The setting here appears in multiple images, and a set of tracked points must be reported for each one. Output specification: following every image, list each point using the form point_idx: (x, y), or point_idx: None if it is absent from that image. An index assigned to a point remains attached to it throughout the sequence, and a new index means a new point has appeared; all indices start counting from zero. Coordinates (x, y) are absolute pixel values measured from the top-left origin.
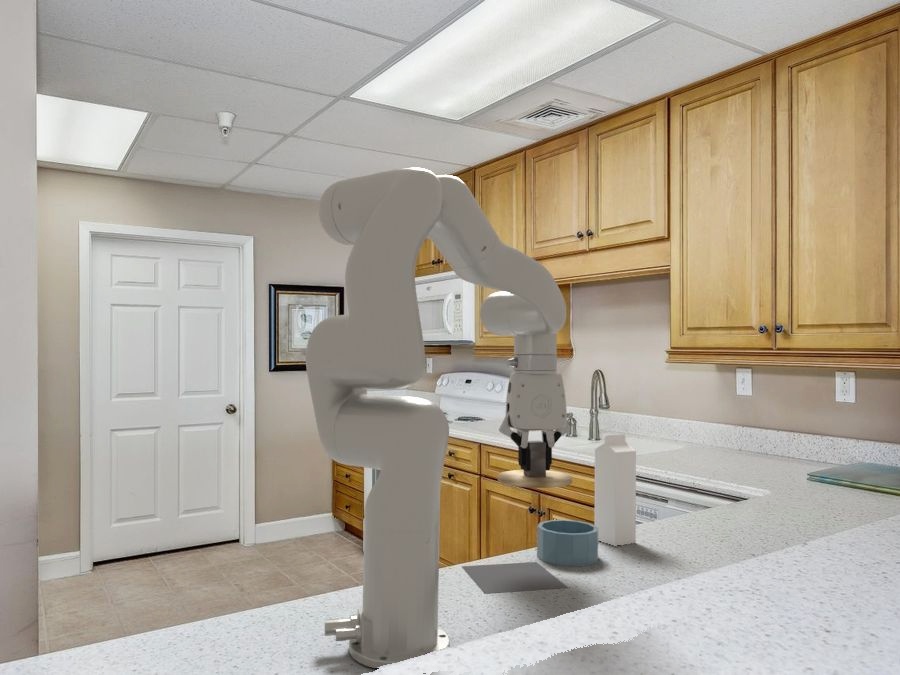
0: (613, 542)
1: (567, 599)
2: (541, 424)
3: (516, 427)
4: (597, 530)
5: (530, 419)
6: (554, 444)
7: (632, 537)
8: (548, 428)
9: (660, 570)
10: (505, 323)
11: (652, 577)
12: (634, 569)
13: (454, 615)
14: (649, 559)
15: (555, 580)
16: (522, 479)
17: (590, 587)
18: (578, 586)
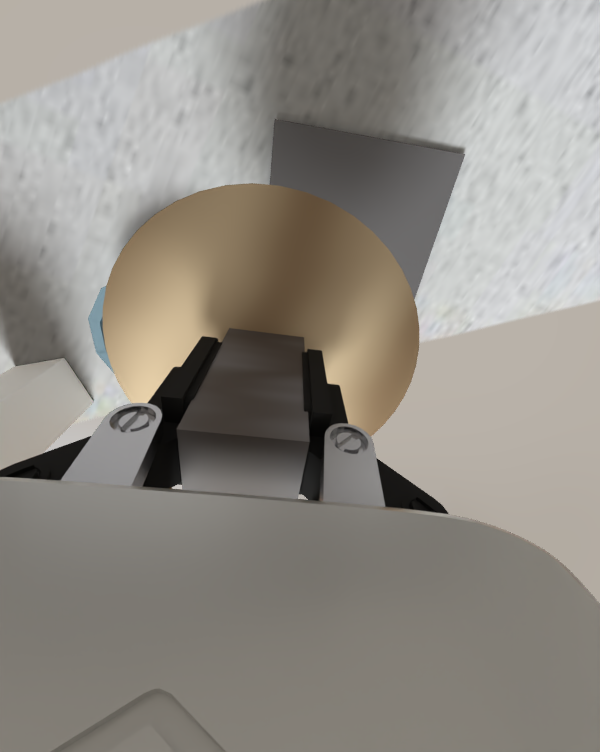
0: (62, 364)
1: (306, 56)
2: (194, 551)
3: (541, 550)
4: (98, 295)
5: (402, 677)
6: (109, 413)
7: (13, 370)
8: (102, 488)
9: (4, 183)
10: None
11: (38, 139)
12: (66, 212)
13: (597, 52)
14: (11, 265)
15: (278, 182)
16: (354, 314)
17: (215, 125)
18: (238, 144)
